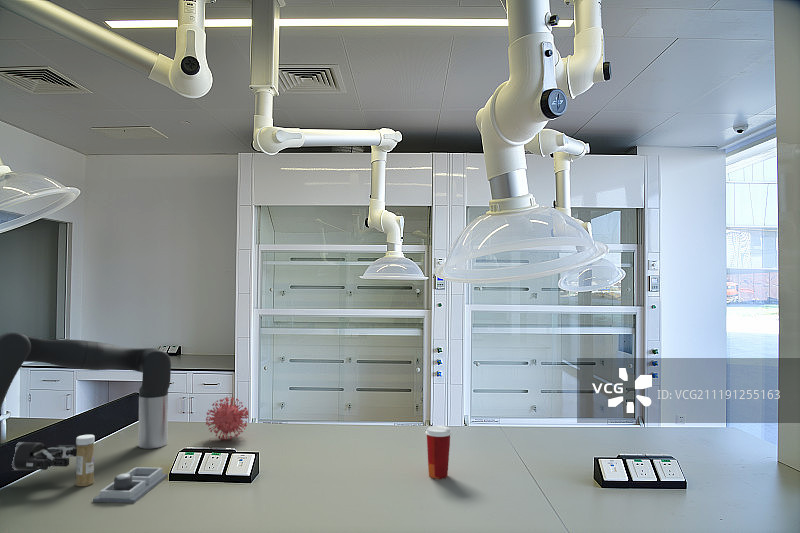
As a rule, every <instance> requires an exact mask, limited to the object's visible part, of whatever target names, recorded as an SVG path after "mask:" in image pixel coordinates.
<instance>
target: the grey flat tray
mask: <svg viewBox="0 0 800 533" xmlns="http://www.w3.org/2000/svg"><path fill="white" fill-rule="evenodd" d="M163 470H164V468H163V467H153V466H152V467H150V466H149V467H147V466H145V467H143V466H135V467H134V468H132V469H131V470H128V471H127V472H126V473H120V474H118V475H116V476H115V477H114V479H113V481H112V482H111V483H110V484H108V485H106V486H105V487H103V488H102V489H101V490H99V494H98V495H96V496H95V497H94V498H93V499H92V502H93V503H122V504H123V503H125V504H127V503H128V504H135V503H136V502H138V501H139V500H140V499H142V497H144V496H145V495H146V494H147V493H149V492H150V491H151V490H153V489H154V488H155V487H156V486H158V485H159V484H160V483H162V482H163V481H165V479H167V477H168V473H163V472H164V471H163Z"/></svg>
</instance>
